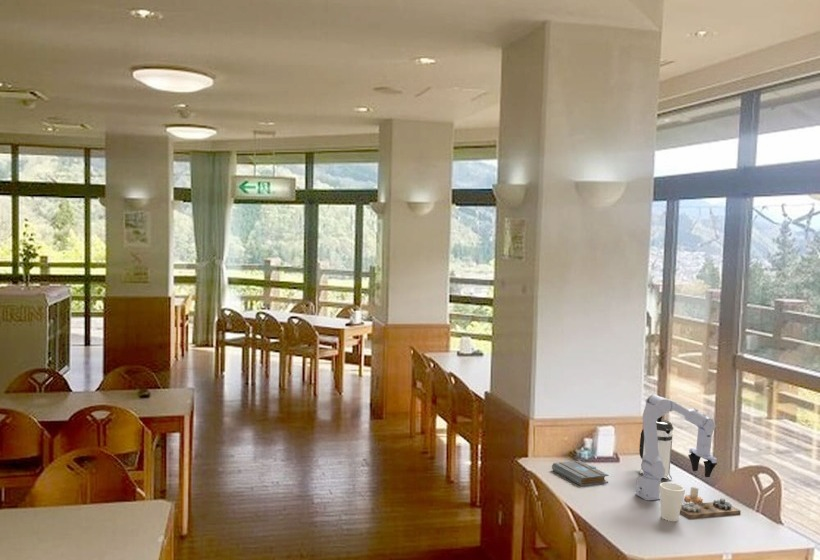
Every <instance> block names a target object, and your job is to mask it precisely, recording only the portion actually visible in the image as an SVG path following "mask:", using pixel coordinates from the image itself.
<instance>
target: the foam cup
mask: <svg viewBox="0 0 820 560" xmlns="http://www.w3.org/2000/svg"><path fill="white" fill-rule="evenodd" d="M659 491H660V499H659V503H660V516H661V519H663V520H664V519H665V521H667V520H668V522H678V520H679V517H680V509H681V505H682V504H683V501H684V497H685V493H686V492H685V491H686V488H685V486H682V484H681V485H680V484H679V483H673V482H661V484H660V486H659Z"/></svg>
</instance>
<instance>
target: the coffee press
mask: <svg viewBox="0 0 820 560" xmlns="http://www.w3.org/2000/svg"><path fill="white" fill-rule="evenodd" d="M656 425H657V438H658V451H659V457H660V458H661V460H662V463H663V466H664V468H665V474H664V476H663V477H662V479H663V478H666V479H667V480H668V479H671V480H672V477H673V476H672V475H671V459H672V457H671V456H672V445H673V430H674V429H675V428H674V426H673V424H672V423H671V422H670V421H669V420H667V419H663V416H661V417H660V418H658V419H657V420H656ZM645 454H646V453H645V441H644V428H642V430H641V432H640V438H639V456H640V459H641V460H642V457H643V456H644V455H645ZM640 470H641V471H642V473H641V471H638V474H639V475H642V474H643V470H642V468H641V467H640Z"/></svg>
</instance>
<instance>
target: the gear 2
mask: <svg viewBox="0 0 820 560" xmlns="http://www.w3.org/2000/svg"><path fill="white" fill-rule="evenodd" d="M712 502H713V506H715V507H716V508H717V507H718V508H719V509H725V510H727V509H729V510H730V509H731V506H732V503H731V502H728V501H726V499H724V498H720V499H717V500H716V499H715V500H713V501H712Z"/></svg>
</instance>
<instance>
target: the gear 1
mask: <svg viewBox="0 0 820 560" xmlns="http://www.w3.org/2000/svg"><path fill="white" fill-rule="evenodd" d="M682 508H683V510H687V511H688V512H690V511H691V512H693V513H696V512H700V508H701V507H699V505H695V503H694V502H692V501H689V502H687V501H686V502H682Z"/></svg>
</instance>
